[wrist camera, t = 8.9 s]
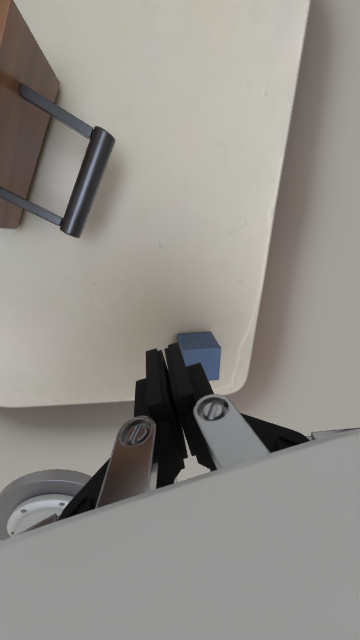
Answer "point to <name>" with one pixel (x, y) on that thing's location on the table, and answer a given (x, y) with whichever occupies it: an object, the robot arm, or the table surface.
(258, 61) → the table surface
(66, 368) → the table surface
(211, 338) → the block
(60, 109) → the drawer
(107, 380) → the table surface
